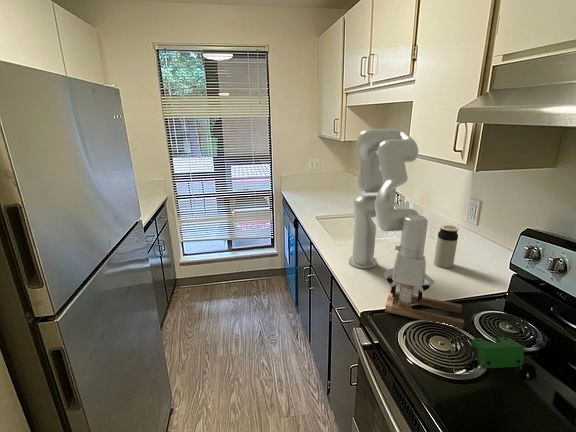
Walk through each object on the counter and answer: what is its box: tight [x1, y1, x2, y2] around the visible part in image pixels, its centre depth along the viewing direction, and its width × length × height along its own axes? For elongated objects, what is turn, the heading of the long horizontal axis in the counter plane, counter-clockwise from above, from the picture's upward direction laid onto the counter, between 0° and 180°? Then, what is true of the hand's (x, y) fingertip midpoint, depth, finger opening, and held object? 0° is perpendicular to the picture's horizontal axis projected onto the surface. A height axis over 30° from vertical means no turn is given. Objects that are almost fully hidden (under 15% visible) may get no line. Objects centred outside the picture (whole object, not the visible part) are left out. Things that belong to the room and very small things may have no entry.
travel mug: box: [433, 224, 460, 269], centre depth 145 cm, size 8×8×18 cm
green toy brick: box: [471, 336, 525, 369], centre depth 90 cm, size 12×6×9 cm, turn 89°
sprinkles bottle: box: [397, 284, 415, 309], centre depth 113 cm, size 5×5×14 cm
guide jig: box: [384, 289, 465, 330], centre depth 113 cm, size 11×24×2 cm, turn 66°
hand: (405, 297), depth 114 cm, fingers open, 7 cm apart
